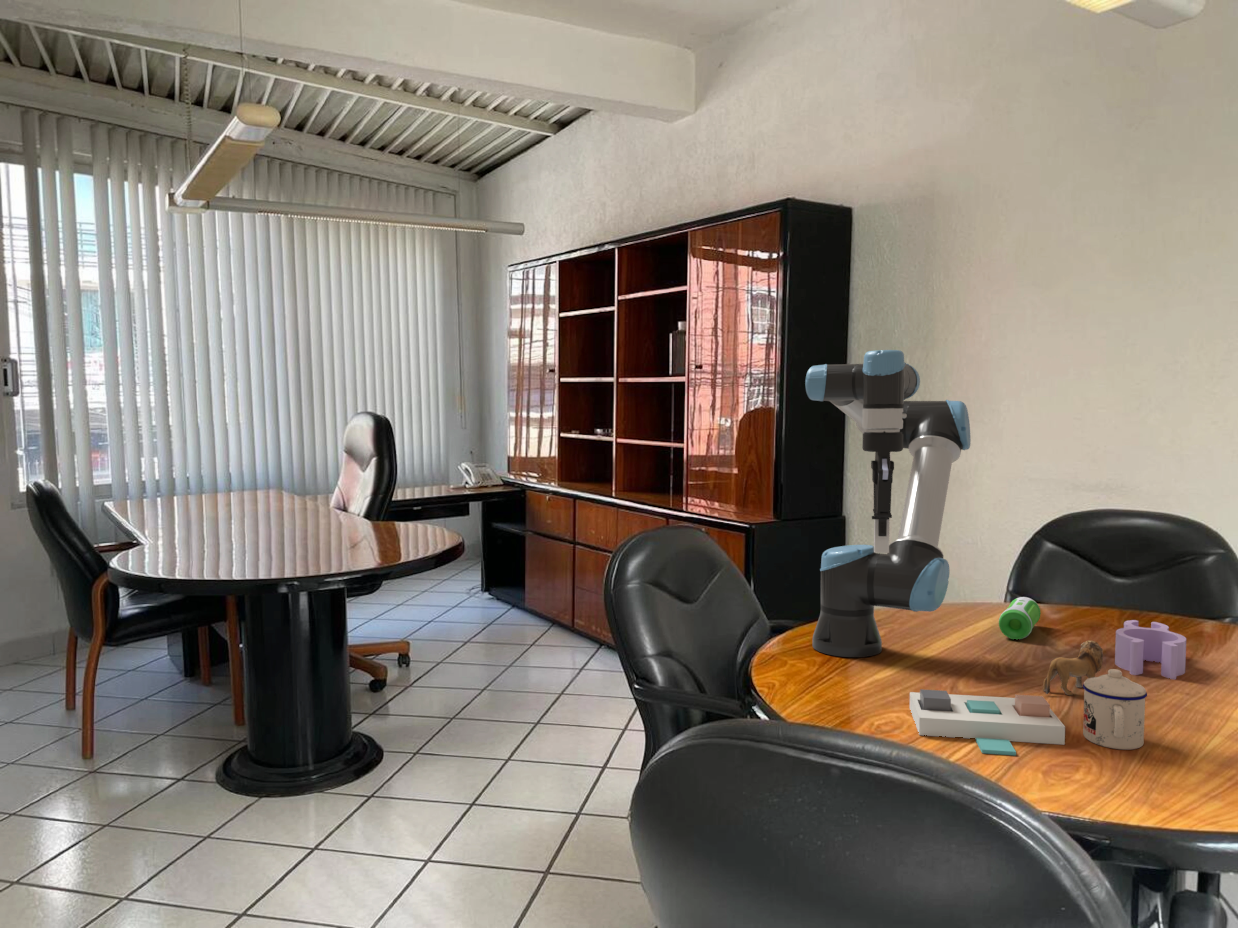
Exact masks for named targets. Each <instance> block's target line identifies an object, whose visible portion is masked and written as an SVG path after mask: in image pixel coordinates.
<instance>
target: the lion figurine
mask: <svg viewBox="0 0 1238 928" xmlns="http://www.w3.org/2000/svg"><path fill="white" fill-rule="evenodd" d="M1103 651H1104V649H1103V648H1102V646H1101V645H1100V644H1099V643H1098V642H1097V641H1094V640H1086V641H1083V642H1082V643H1081V644H1080V650H1079V653H1078V656H1076V657H1073V658H1072V657H1071V658H1067V657H1063V656H1062V657H1061V656H1060V657H1055V658H1054V659H1052V660H1051V661H1050V663H1049V664H1050V665H1049V668H1048V671H1047V675H1046V677H1045V678H1044V679H1043V682H1042V683H1043V684H1042V691H1043V692H1045V695H1049V694H1050V691H1051V681H1052V680H1054V678H1055V677H1056V676H1057V675H1058V677H1059V679H1060V682H1061V683H1060V688H1061V689H1062V691H1063V692H1064V693H1065V695H1067V696H1073V695H1074V694H1073V692H1072V691H1071V690H1068V683H1069V680H1070V677H1071V678H1075V683H1074V684H1075V685H1074V686H1075V687H1076V688H1083V684H1082V683H1083V682H1082V677H1085V676H1086V677H1087V679H1089V678H1093V677H1096V673H1099V671H1101V669H1102V665H1103V657H1104V652H1103Z"/></svg>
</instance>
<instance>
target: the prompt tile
mask: <svg viewBox="0 0 1238 928" xmlns="http://www.w3.org/2000/svg"><path fill="white" fill-rule="evenodd" d="M975 742H976V744H977V747H978V748H979V751H981V753H982V754H989V755H1002V756H1014V757H1015V756H1017V751H1016V749H1015V748H1014V746H1013V745H1012V743H1011V741H1009V740H1006V739H990V738H976V739H975Z"/></svg>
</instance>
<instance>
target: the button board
mask: <svg viewBox="0 0 1238 928" xmlns="http://www.w3.org/2000/svg"><path fill="white" fill-rule="evenodd" d="M948 695H949V697H950V699H951V712H950V711H933V710H921V708H920V692H914V691H909V710H911V711H910V713H912V714H911V716H912V719H913V721H915V722H914V724H916V725H915V727H916V730H917V733H918V732H919V733H918V735H919V736H924V735H925V736H926V735H927V736H926V737H939V736H942V737H943V738H955V737H963V738H962V739H970V738H975V739H974V740H976V738H990V739H1006V740H1009V741H1010V742H1017V743H1018V742H1021V743H1034V744H1048V745H1049V744H1050V745H1063V746H1064V745H1065V744H1066V742H1065V741H1066V740H1065V739H1066V737H1065V736H1066V726H1065V725H1064V724H1063V722H1062V721H1061V720H1060V719H1059V717H1058V716H1057V715H1056V714H1055V712H1054V711H1053V709H1051V708H1050V717H1033V716H1019V715H1018V713H1017V712H1016V710H1015V697H1005V696H987V695H986V696H985V695H968V694H951V693H948ZM967 700H976V701H994V702H995V704H996V706H997V707H998V709H999V710H1000V714H983V713H970V712H969V710H968V709H967ZM945 736H946V737H945Z"/></svg>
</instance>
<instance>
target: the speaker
mask: <svg viewBox="0 0 1238 928" xmlns="http://www.w3.org/2000/svg"><path fill="white" fill-rule="evenodd" d="M1040 619H1041V608H1040V606H1039V604H1038V603H1037V602H1036V601H1035V600H1034V599H1032V598H1030V597H1027V596H1020V597H1017V598H1015V599H1013V600H1012V601H1010V603H1009V606H1008V607H1007V608H1006V609H1005V610H1003V612H1002V613H1001V614H1000V615H999V618H998V626H999V629H1000V631H1001V633H1002V634H1003V635H1004V636H1005V637H1007V638H1008V639H1010V640H1014V639H1016V640H1018V639H1019V640H1023V639H1025V638H1027V637H1029V635H1030V634H1031V633H1032V631H1033V629H1034V626H1035V625H1036V624H1037V623H1038V622H1039V620H1040Z"/></svg>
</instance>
